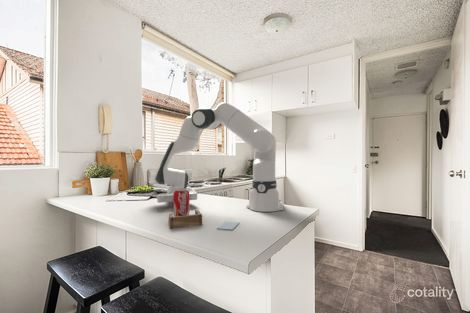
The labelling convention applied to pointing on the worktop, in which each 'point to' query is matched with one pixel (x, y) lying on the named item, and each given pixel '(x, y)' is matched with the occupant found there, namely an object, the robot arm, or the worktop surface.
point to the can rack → (185, 220)
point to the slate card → (228, 226)
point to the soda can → (181, 202)
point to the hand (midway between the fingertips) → (179, 199)
